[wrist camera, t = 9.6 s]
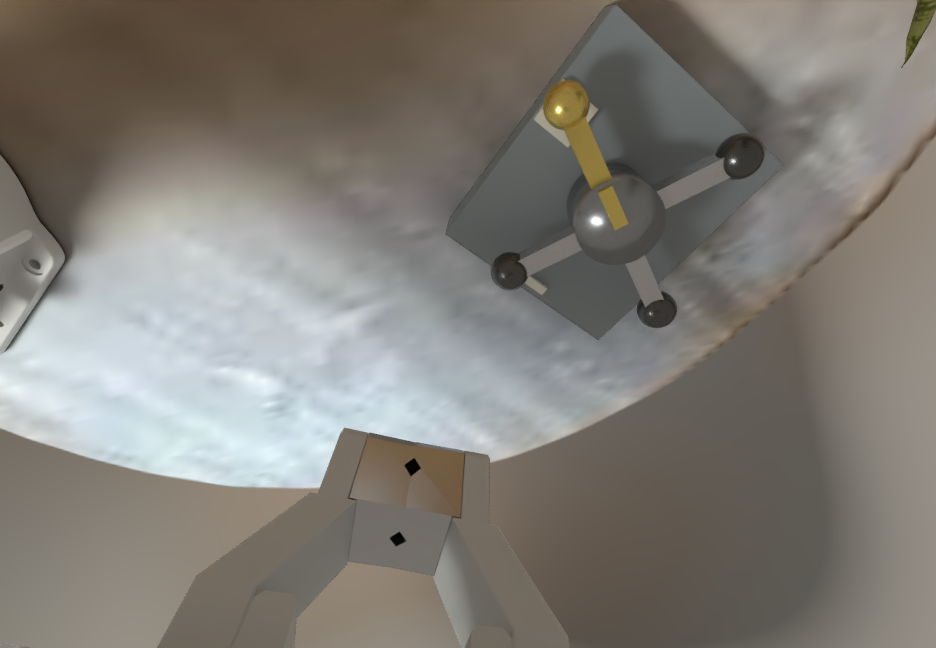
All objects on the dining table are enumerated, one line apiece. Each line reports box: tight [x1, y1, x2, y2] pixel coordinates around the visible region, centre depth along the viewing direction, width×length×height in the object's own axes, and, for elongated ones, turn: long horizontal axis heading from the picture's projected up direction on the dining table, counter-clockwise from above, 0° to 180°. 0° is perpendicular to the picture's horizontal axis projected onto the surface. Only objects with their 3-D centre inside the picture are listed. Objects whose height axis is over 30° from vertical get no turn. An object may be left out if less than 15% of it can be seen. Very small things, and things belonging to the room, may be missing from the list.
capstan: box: [491, 80, 765, 328], centre depth 29 cm, size 16×16×4 cm
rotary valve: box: [446, 4, 784, 340], centre depth 32 cm, size 16×14×5 cm
